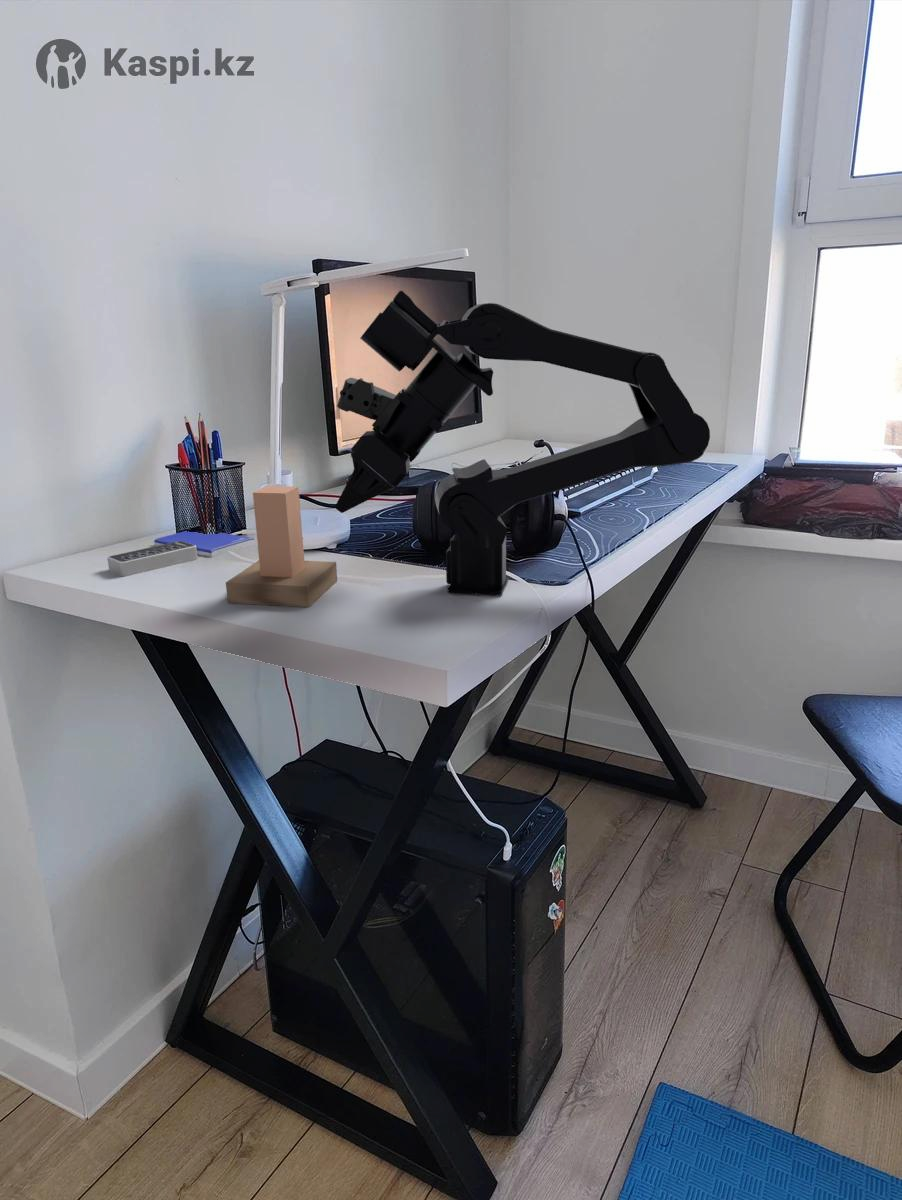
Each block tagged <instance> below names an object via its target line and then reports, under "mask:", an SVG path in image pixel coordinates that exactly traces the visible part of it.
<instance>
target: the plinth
mask: <svg viewBox="0 0 902 1200" xmlns="http://www.w3.org/2000/svg"><path fill="white" fill-rule="evenodd" d="M304 562H305V568H304V569H303V570H301V571H300V572H299V573H297V574H296V575H295V576H294V577H273V576H261V574H260V563H259V560H257V561H256V562H254V563H253V564H251V565H249V566H248V567H247V568H245V569H243V570H242V571H241V572H239V573H237V574H236V575H234V577H232V578H231V579H228V580H227V581H226V582H225V587H226V588H225V589H226V596H227V603H228V604H239V605H240V604H242V605H243V604H245V605H261V606H262V605H263V606H279V607H280V606H282V607H301V608H309V607H311V606H312V605H313V604H314V603H315V602H317V601H318V599H320V598H321V596H323V595H324V594H325V593H326V592H328V590H330V589H331V587H333V586H334V585H335V584H336V583H337V582H338V569H337V562H336V561H326V560H323V561H320V560H304Z"/></svg>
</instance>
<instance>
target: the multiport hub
mask: <svg viewBox="0 0 902 1200" xmlns="http://www.w3.org/2000/svg"><path fill="white" fill-rule="evenodd" d="M198 559H199V558H198V554H197V548H196V545H193V544H190V543H186V542H183V541H177V542H173V543H168V544H163V545H159V546H155V545H154V546H149V547H146V548H141V549H136V550H132V551H128V552H123V553H118V554H114V555H109V556H107V559H106V560H107V565H108V571H109V572H111V573H113V574H114V575H117V576H120V577H121V578H122V577H123V578H124V577H130V576H133V575H138V574H142V573H147V572H150V571H154V570H155V571H156V570H159V569H163V568H167V567H172V566H175V565H180V564H186V563H188V562H192V561H196V560H197V561H198Z"/></svg>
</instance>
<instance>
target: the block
mask: <svg viewBox="0 0 902 1200" xmlns="http://www.w3.org/2000/svg"><path fill="white" fill-rule="evenodd" d="M252 500H253V509H254V511H253V512H254V521H255V531H256V541H257V542H256V543H257V551H258V561H259V563H260V574H261V576H273V577H294V576H295V575H296V574H297V573H299V572H300V571H301V570H303V569H304V568H305V562H304V561H305V553H304V551H305V550H304V539H303V526H302V525H303V524H302V513H301V511H302V510H301V500H300V489H299V486H291V485H289V486H288V485H287V486H286V485H266V486H264V487H262V488H260V489H257V490H255V491H253V492H252Z"/></svg>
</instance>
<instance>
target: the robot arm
mask: <svg viewBox="0 0 902 1200" xmlns="http://www.w3.org/2000/svg"><path fill="white" fill-rule="evenodd" d="M436 336H438V337H439V338H440V339H441V340H443V342H446V343H448V344H449V345H456V346H464V348H465V349H466V350H467V351H468V352H469V353H471V354H473V355H475V356H478V357H480V358H483V359H486V360H500V361H502V360H503V361H516V362H517V361H520V362H521V361H522V362H543V363H547V364H550V365H554V366H557V367H558V366H559V367H562V368H565V369H566V368H567V369H571V370H574V371H578V372H583V373H586V374H590V375H593V376H594V375H595V376H599V377H602V378H607V379H610V380H615V381H618V382H623V383H627V384H628V387H629V388H630V391H631V392H632V397H633V398H634V401H635V403H636V404H635V405H636V406H637V409H638V413H640V415H641V417H640V418H639V419H637V420H636V421H634V422H633V423H631V424H630V425H629V426H627V427H626V428H625V429H624V430H622V431H620V432H618V433H617V434H614V435H611V436H607V437H605V438H602V439H598V440H595V441H591V442H588V443H586V444H582V445H580V446H577V447H573V448H570V449H566V450H563V451H560V452H557V453H554V454H551V455H548V456H544V457H542V458H538V459H535V460H532V461H528V462H525V463H523V464H519V465H516V466H513V467H509V468H505V469H492V467H491V465H490V464H489V462H487V461H486V459H484V458H483V459H481V460H479V461H476V462H474V463H471V465H469V466H468V465H467V466H465V467H461V468H460V467H459V468H458V467H452V469H451V470H452V472H453V473H452V474H450V475H448V476H446V477H444V478H443V479H441V480H440V482H439V483H438V486H437V487H436V490H435V494H434V495H435V496H434V499H435V506H436V510H437V512H438V516H439V517H440V519H441V521H442V523H443V524H444V525H445V526H446V527H447V528H448V529H450V530H453V531H454V532H456V533H454V534H453V536H452V537H451V538H450V539H449V541H450V542H449V547H448V549H447V550H446V551H445V571H446V572H445V575H446V576H445V577H446V584H447V585H449V586H448V587H447V593H448V594H461V595H462V594H463V595H482V596H483V595H485V596H502V595H503V593H504V591H505V589H506V586H507V584H508V582H509V579H510V578H509V576H508V575H507V533H508V528H507V526H506V524H505V523H504V521H503V520H502V518H501V516H503V515H504V514H506V513H507V512H508V511H509V510H511V509H513V508H514V507H515V506H517V505H519V504H521V503H524V502H527V501H531V500H534V499H538V498H540V497H543V496H546V495H550V494H552V493H556V492H559V491H562V490H564V489H566V490H567V489H568V488H572V487H575V486H577V485H581V484H584V483H587V482H590V481H594V480H597V479H600V478H604V477H606V476H610V475H612V474H616V473H619V472H621V471H626V470H629V469H632V468H638V467H639V468H649V467H651V468H652V467H653V468H654V467H655V468H656V467H666V466H673V465H681V464H682V465H683V464H689V463H693V462H694V461H696V460H699V459H700V458H701V457H702V456H703V455H705V454H704V453H705V451H706V449H707V448H708V446H709V443H710V440H711V433H710V432H711V431H710V430H711V429H710V428H709V427H710V426H709V424H708V422H707V421H706V420H705V418H704V417H703V416H701V415H699V414H698V413H696V412H694V410H693V408H692V406H691V403H690V401H689V400H688V399H687V397H686V396H685V394H684V392H683V391H682V389H680V387H679V386H678V384H677V383H676V381H675V380H674V379H673V377H672V375H671V373H670V371H669V368H667V367H668V366H667V365H666V362H665V360H664V358H662V357H661V355H659V354H657V353H655V352H650V351H643V350H641V351H640V350H639V351H638V350H635V349H634V350H633V349H629V348H626V347H621V346H618V345H613V344H610V343H606V342H603V341H599V340H594V339H590V338H587V337H582V336H579V335H575V334H571V333H566V332H563V331H561V330H556V329H551V328H549V327H547V326H544V325H543V324H540V323H539V322H537V321H535V320H533V319H530V318H529V317H527V316H525V315H523V314H521V313H519V312H516V311H515V310H512V309H510V308H508V307H506V306H504V305H502V304H499V303H493V302H489V303H485V302H484V303H479V304H475V305H474V306H472V307H470V308H468V310H467V311H466V312H465V313H464V314H463V316H462V318H459V319H455V320H451V321H448V320H442V322H441V323H438V324H437V323H436V322H435V321H434V320H433V319H432V318H431V317H430V316H428V315H427V313H425V312H424V311H423V310H422V309H421V308H420V307H418V306H417V305H416V304H415V302H414V301H413V300H412V298H411V296H409V295H408V294H407V293H406V292H405V291H404V290H399V291H398V292H397V294H396V295H395V296H394V297H393V299H392V300H391V301H390V302H389V303H388V305H387V306H386V307H385V309H384V310H382V312H379V313H378V315H377V316H376V317H375V318H374V319H373V321H372V322H371V323H370V325H369V326H368V327H367V328H366V329H365V331H364V332H363V334H362V335H361V336H360V338H359V339H360V340H361V341H362V342H364V343H365V344H366V345H367V346H369V347H370V348H371V349H372V350H373V351H374V352H376V353H377V354H378V356H379V357H381V358H382V359H384V360H385V362H386V363H388V364H389V365H391V366H392V368H394V369H395V370H396V371H397V372H401V371H402V370H403V369H404V368H407V369H409V370H411V371H412V372H413V371H415V370H416V369H417V368H418V367H419V366H420V365H421V363H423V360H425V359H426V358H427V356H428V354H430V352H431V351H432V349H434V350H435V351H436V352H434V354H433V355H432V357H431V358H430V359H429V360H428V362H427V363H426V364H425V365H424V366H423V367H422V368H421V370H420V371H419V373H418V374H417V375H416V376H415V377H414V378H413V380H411V382H410V383H409V384H408V385H407V386H406V388H405V387H403V388H402V389H401V390H399V391H398V393H397V394H395V393H392V392H390V391H388V390H386V389H383V388H381V387H378V386H375V384H374V383H373V382H368V381H365V380H364V379H363V378H362V377H361V378H359V379H358V378H354V377H349V378H346V379H345V380H344V383H343V386H342V389H340V391H339V399H338V401H337V404H336V407H337V408H338V409H340V410H341V411H344V412H352V413H354V414H357V415H359V416H361V417H365V418H366V419H370V420H373V421H374V422H372V424H371V426H372V430H366V431H365V432H364V433H363V434H362V435H361V436H360V438H358V440H357V441H356V442H355V443H354V445H353V446H351V448H350V449H351V451H350V457H351V459H352V465H353V471H352V472H351V474H350V476H349V479H348V481H347V482H346V484H345V487H344V488H343V490H342V492H341V494H340V496H339V498H338V500H337V501H336V504H335V506H334V508H335V510H336V511H338V512H339V513H340V514H341V513H342V514H343V513H346V512H347V511H349V510H351V509H353V508H355V507H357V506H359V505H361V504H363V503H365V502H367V501H369V500H371V499H374V498H375V497H377V496H380V495H381V494H384V493H386V492H388V491H390V490H393V489H395V488H397V487H398V485H399V484H400V483H401V482H402V481H403V480H404V479H405V477H406V476H408V475H407V474H408V473H409V472H410V470H411V464H410V463H412V462H413V461H414V460H415V459H416V458H417V457H418V456H419V455H420V453H421V451H422V449H424V448H425V446H427V444H428V442H430V440H431V439H433V437H434V435H436V433H438V432H439V431H440V430H441V428H442V427H443V426H444V424H445V423H446V422H447V421H448V419H449V418H450V417H451V416H452V414H453V413H454V412H455V411H456V410H457V409H458V407H459V406H460V405H461V404H462V403H463V401H464V400H465V399H466V398H467V397H468V395H469V394H470V393H471V392H472V391H473V390H474V388H475V387H477V388H478V389H479V390H481V391H482V392H483V393H484V394H485V395H486V396H488V397H491V396H493V395H494V390H493V377H494V376H493V375H494V369H493V368H492V367H486V368H481V367H480V366H479V365H478V364H476V363H475V362H474V361H473V360H472V359H471V358H470V357H468V356H467V355H466V354H465V352H461V353H459V354H458V355H457V357H456V356H455V355H453V354H452V353H451V352H450V351H448V350H447V349H446V348H445V347H444V346H442V345H441V343H439V342H438V341H437V340H436V339H435V337H436Z"/></svg>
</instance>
